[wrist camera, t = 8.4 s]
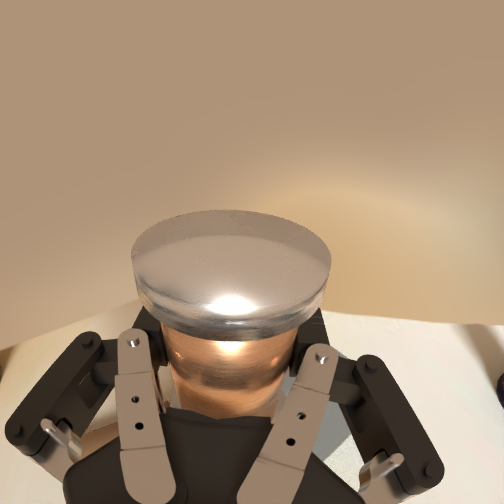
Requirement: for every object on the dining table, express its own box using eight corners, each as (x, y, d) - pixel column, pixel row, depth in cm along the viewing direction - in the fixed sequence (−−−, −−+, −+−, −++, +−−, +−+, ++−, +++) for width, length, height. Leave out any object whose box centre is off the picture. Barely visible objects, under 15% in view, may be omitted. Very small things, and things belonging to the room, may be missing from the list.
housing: (155, 395, 14) (112, 230, 9) (239, 355, 18) (248, 202, 13) (214, 478, 10) (189, 346, 5) (306, 418, 14) (368, 258, 9)
